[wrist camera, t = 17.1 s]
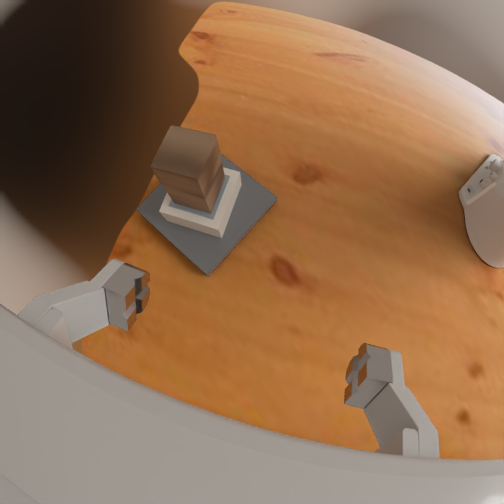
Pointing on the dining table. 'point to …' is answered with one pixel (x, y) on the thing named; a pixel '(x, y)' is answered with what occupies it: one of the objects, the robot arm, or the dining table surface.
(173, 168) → the walnut column
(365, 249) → the dining table surface
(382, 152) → the dining table surface
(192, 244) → the base board
